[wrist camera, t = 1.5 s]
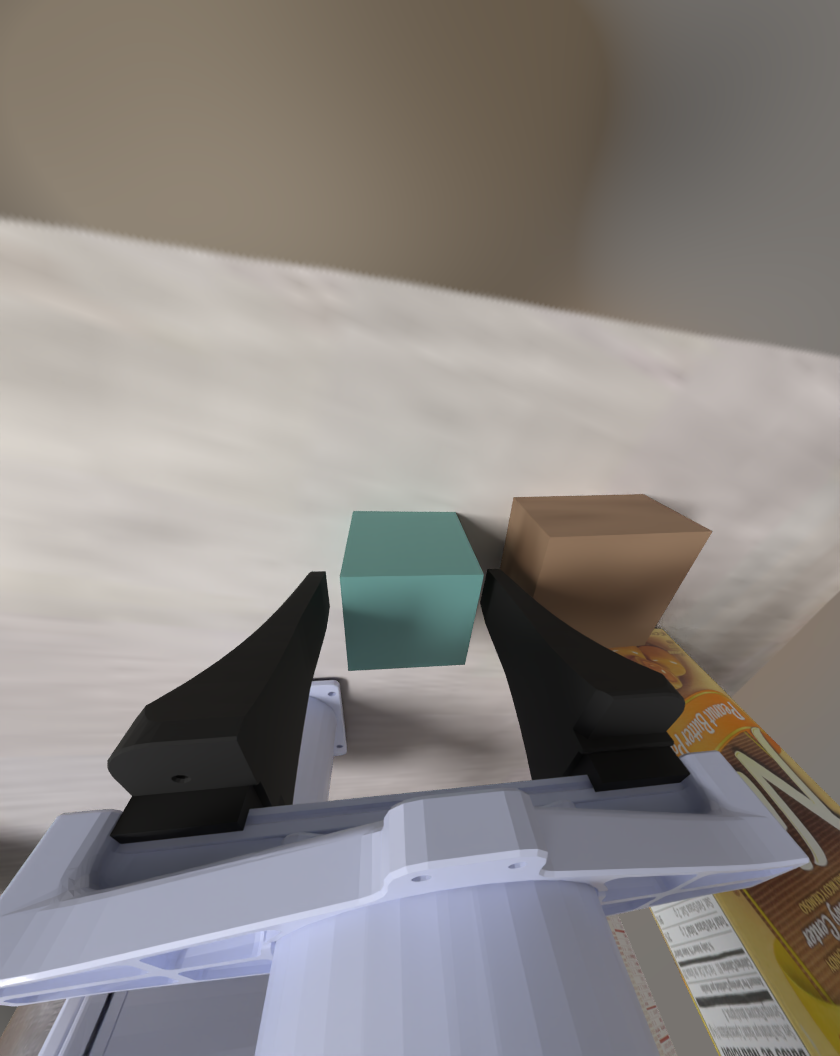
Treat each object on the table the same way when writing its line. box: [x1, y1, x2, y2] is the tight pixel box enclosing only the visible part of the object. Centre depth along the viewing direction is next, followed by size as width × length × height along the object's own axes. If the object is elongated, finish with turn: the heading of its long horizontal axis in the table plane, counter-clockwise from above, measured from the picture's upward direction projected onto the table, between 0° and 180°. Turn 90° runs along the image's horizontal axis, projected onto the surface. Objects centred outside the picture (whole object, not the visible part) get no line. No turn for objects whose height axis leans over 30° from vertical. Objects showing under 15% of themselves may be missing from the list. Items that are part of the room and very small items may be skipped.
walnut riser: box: [500, 494, 712, 648], centre depth 15 cm, size 7×7×4 cm
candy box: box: [608, 629, 840, 1056], centre depth 15 cm, size 9×4×15 cm, turn 81°
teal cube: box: [340, 511, 484, 671], centre depth 14 cm, size 5×5×5 cm
